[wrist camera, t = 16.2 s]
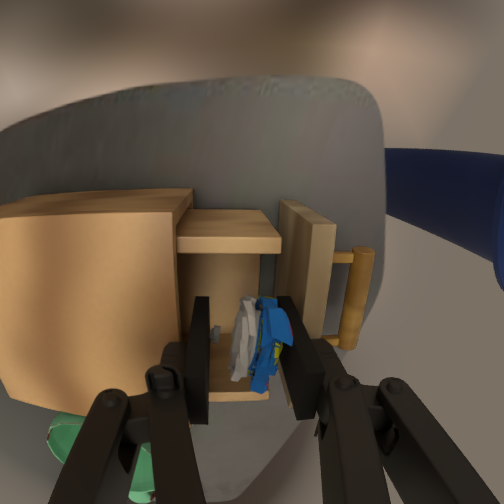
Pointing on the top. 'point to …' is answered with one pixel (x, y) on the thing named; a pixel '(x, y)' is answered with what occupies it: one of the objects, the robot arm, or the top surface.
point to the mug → (62, 442)
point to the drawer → (248, 274)
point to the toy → (256, 340)
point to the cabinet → (87, 292)
